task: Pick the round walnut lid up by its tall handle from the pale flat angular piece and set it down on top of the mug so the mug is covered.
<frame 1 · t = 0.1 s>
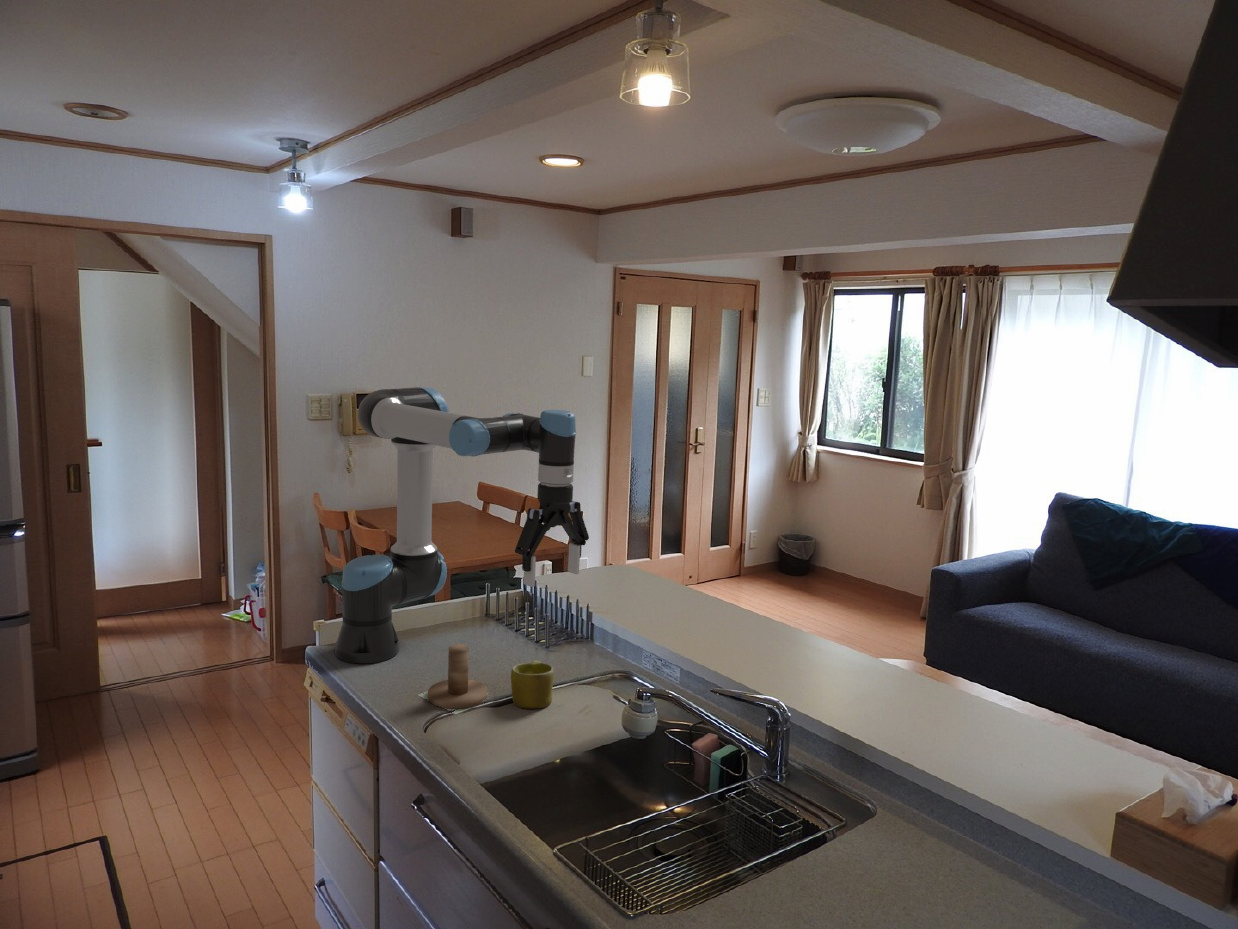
hand: (551, 579, 190), 28 cm above the countertop, fingers open, 13 cm apart
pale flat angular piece: (457, 697, 193), on the countertop
mug: (533, 700, 194), on the countertop
lid: (457, 696, 193), resting on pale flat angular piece
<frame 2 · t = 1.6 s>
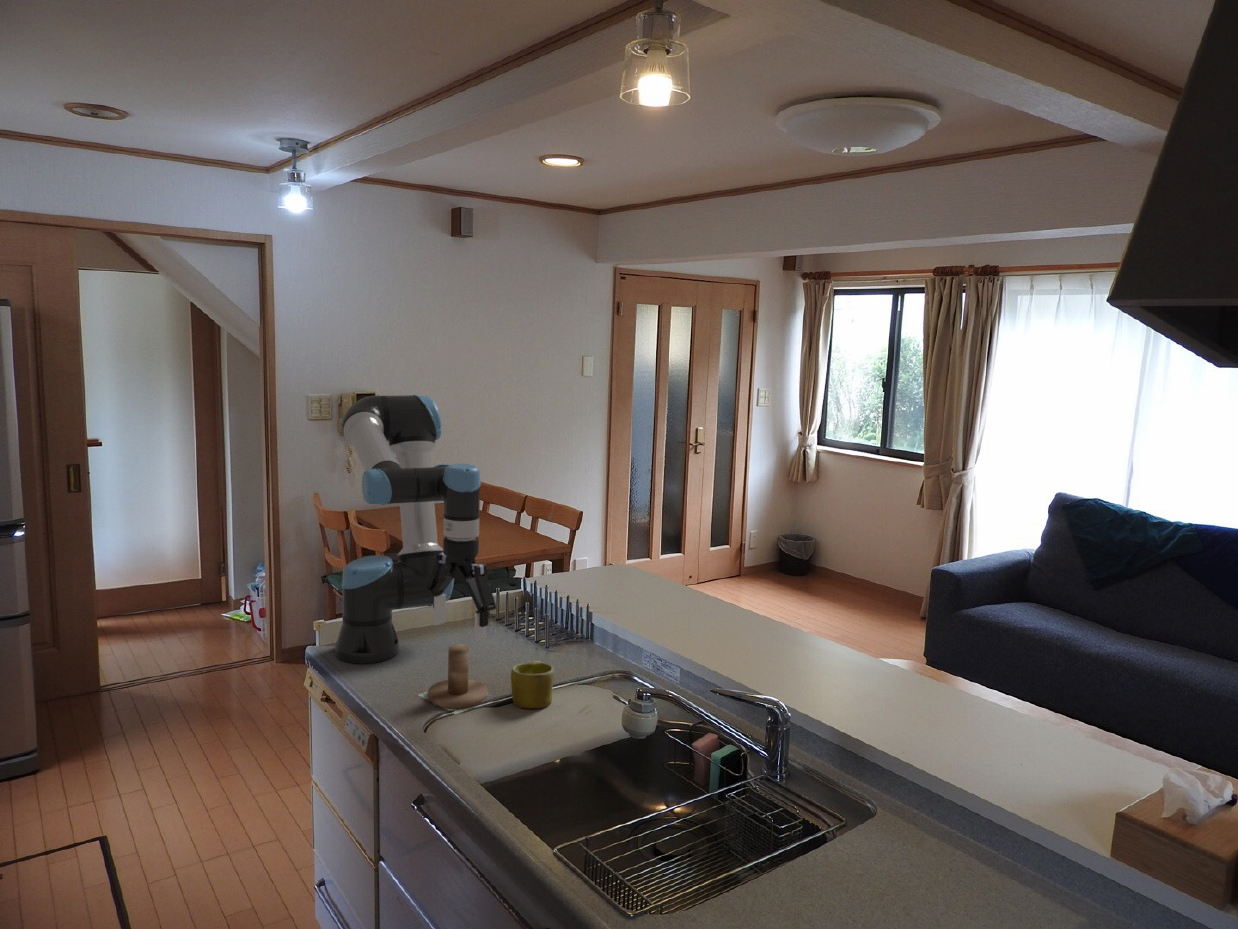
hand: (459, 631, 190), 15 cm above the countertop, fingers open, 13 cm apart
nothing on the countertop moved.
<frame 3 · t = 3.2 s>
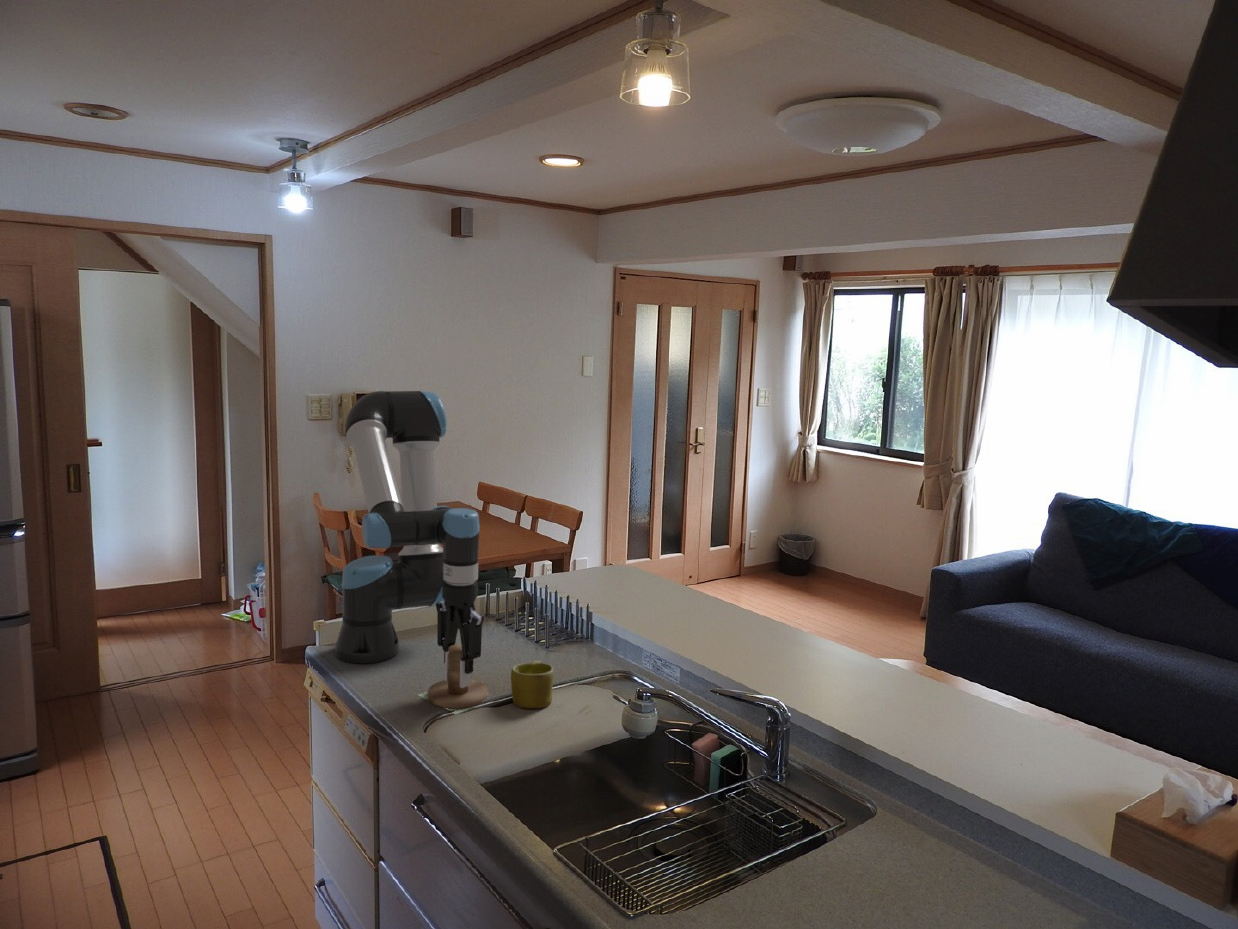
hand: (458, 682, 192), 4 cm above the countertop, fingers closed on lid, 4 cm apart
lid: (457, 696, 193), resting on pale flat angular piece, touching gripper
everything else where it was.
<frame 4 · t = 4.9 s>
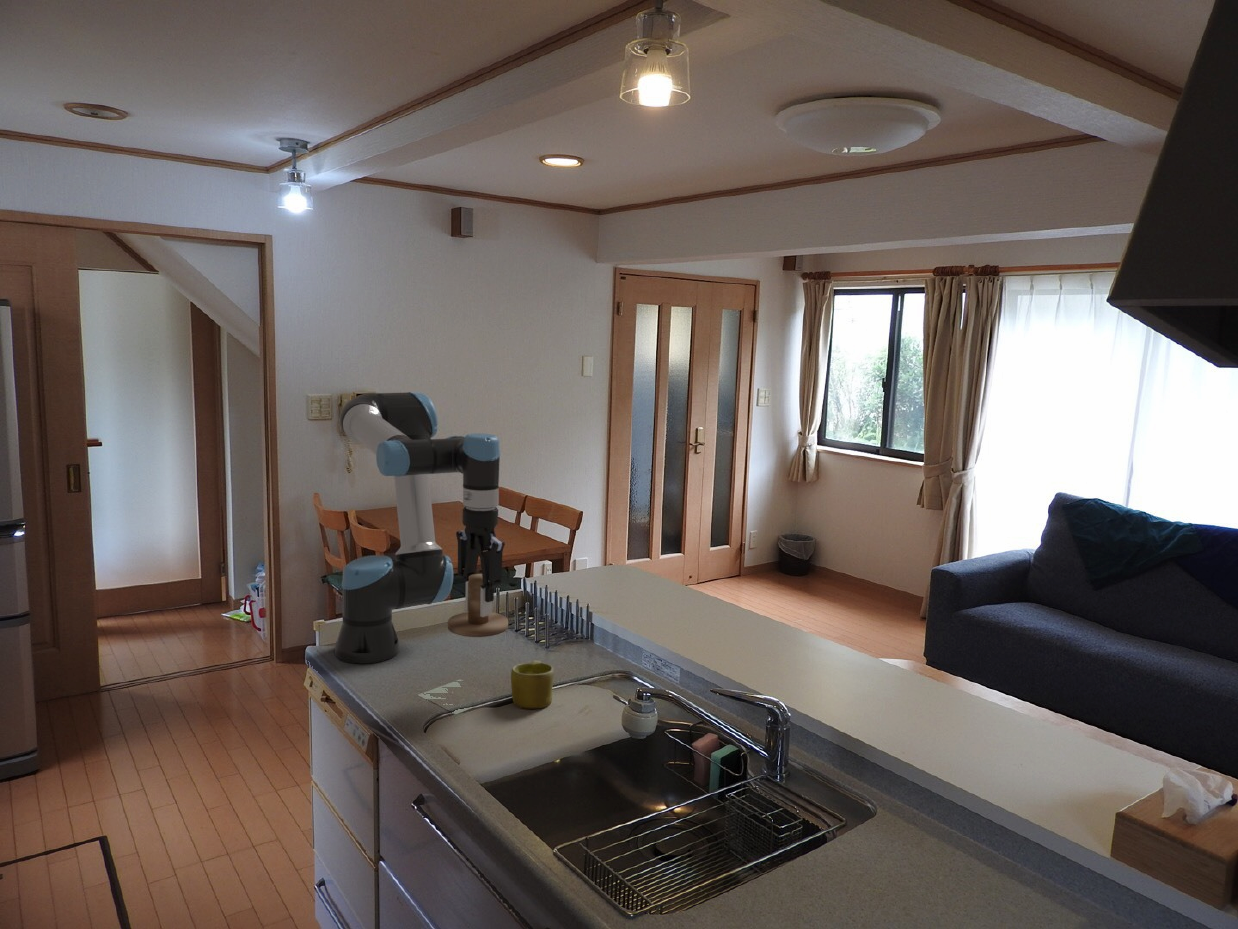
hand: (478, 612, 189), 20 cm above the countertop, fingers closed on lid, 4 cm apart
lid: (478, 626, 190), point 17 cm above the countertop, touching gripper
everything else where it was.
when the fingers open (14 cm above the countertop, at t = 6.8 s): lid drops 3 cm, resting on mug.
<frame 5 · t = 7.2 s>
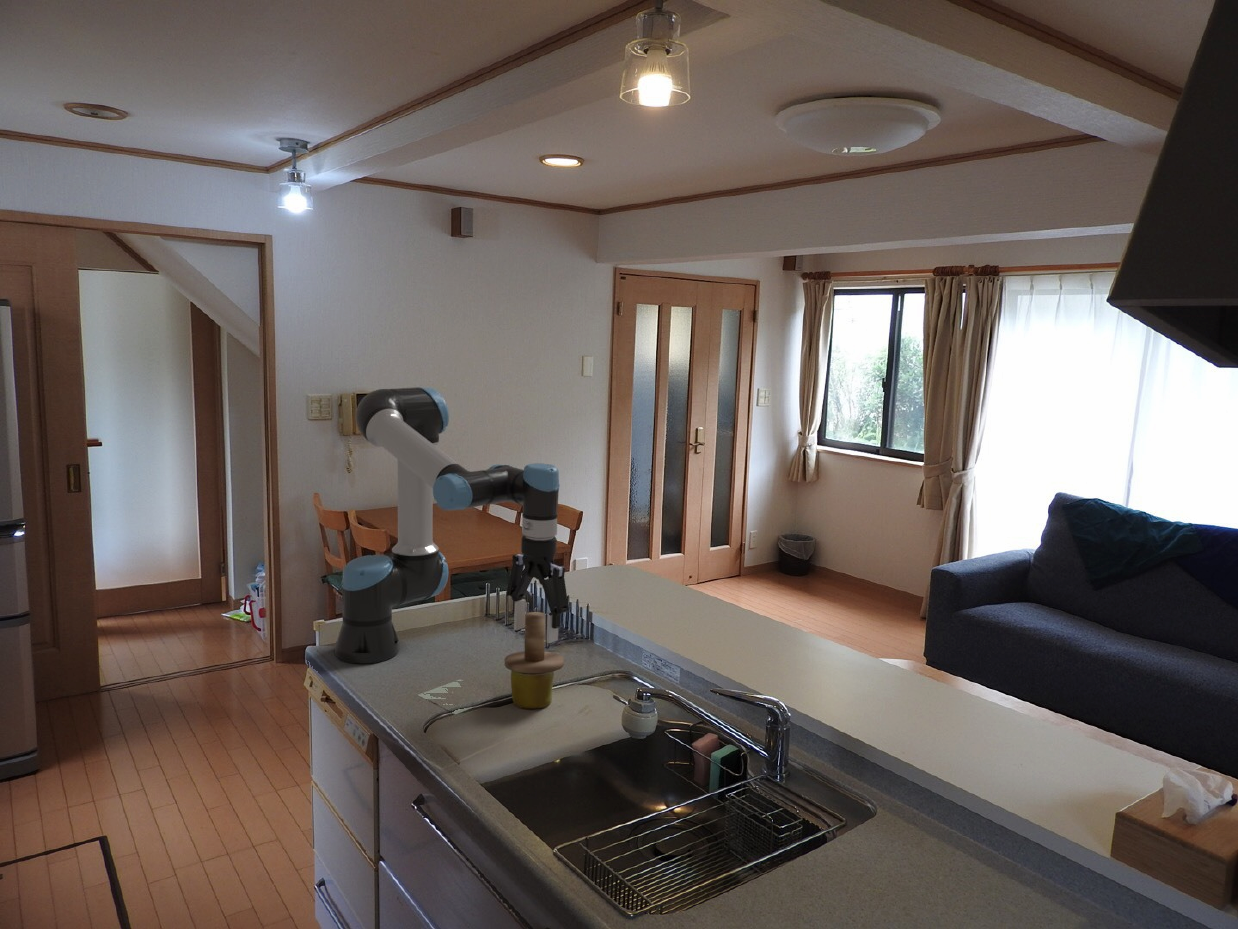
hand: (535, 634, 191), 15 cm above the countertop, fingers open, 9 cm apart
mug: (533, 700, 194), on the countertop, touching lid
lid: (534, 664, 193), point 8 cm above the countertop, tilted 6°, touching mug
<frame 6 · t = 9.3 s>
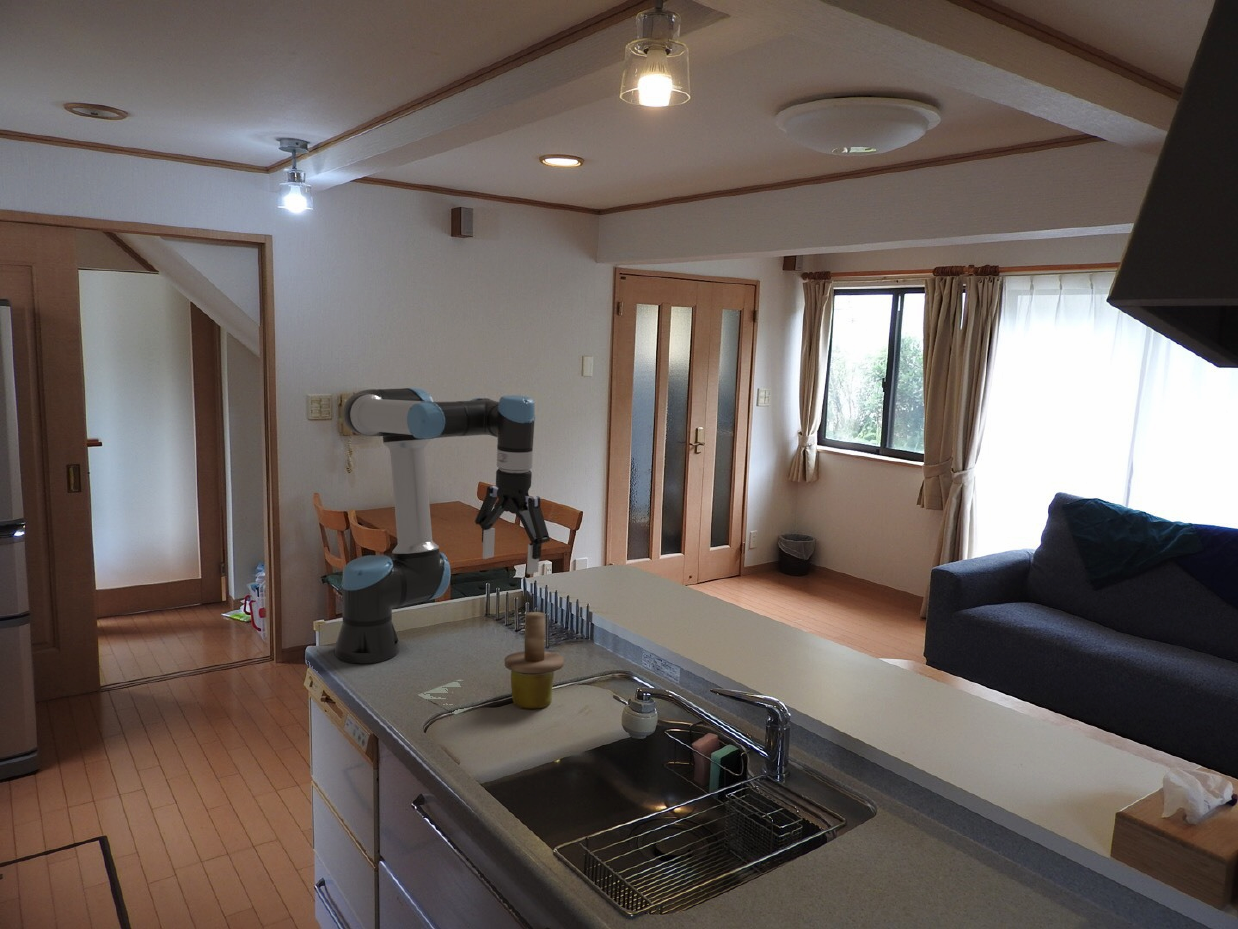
hand: (509, 565, 189), 30 cm above the countertop, fingers open, 13 cm apart
nothing on the countertop moved.
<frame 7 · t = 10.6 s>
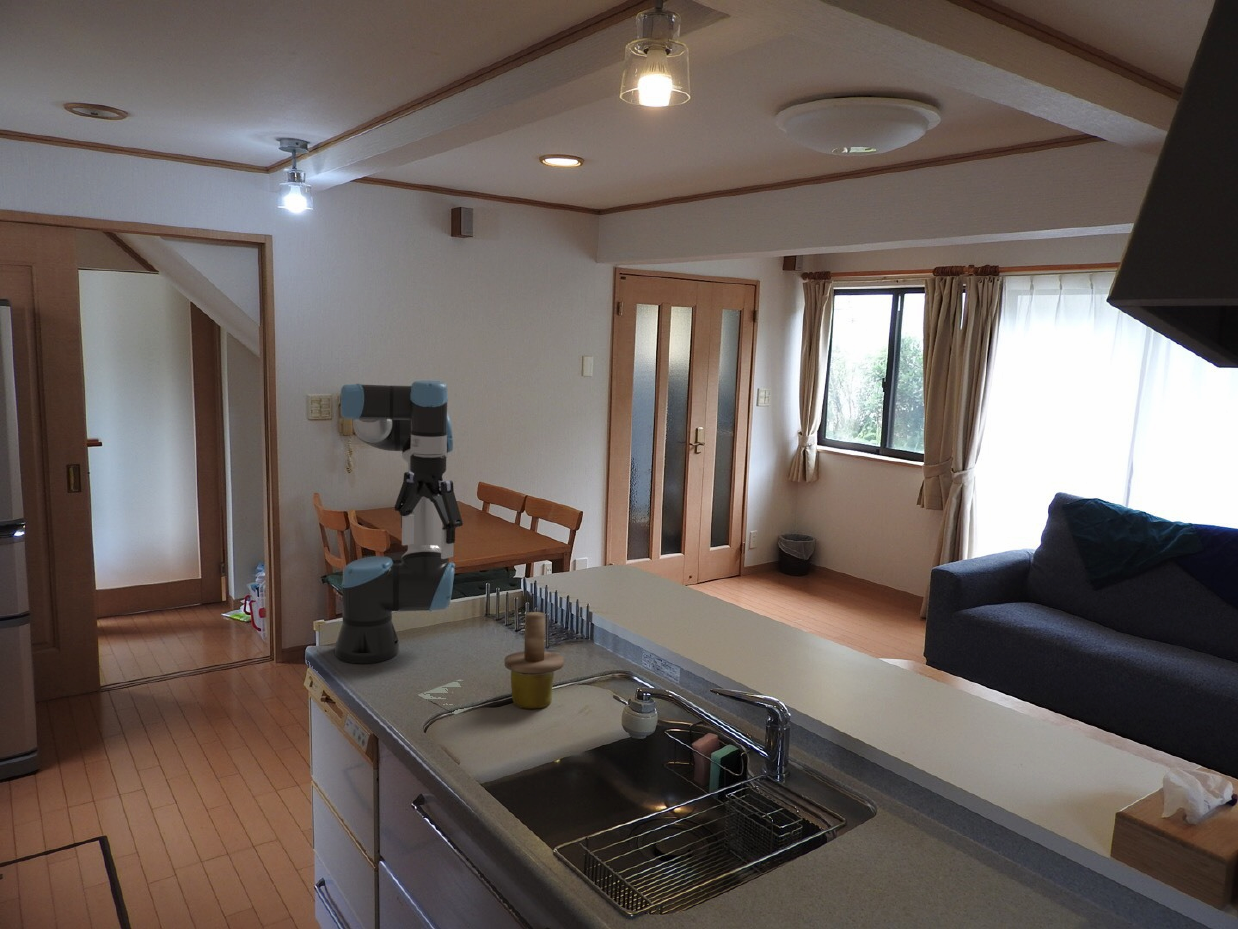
hand: (427, 551, 189), 33 cm above the countertop, fingers open, 13 cm apart
nothing on the countertop moved.
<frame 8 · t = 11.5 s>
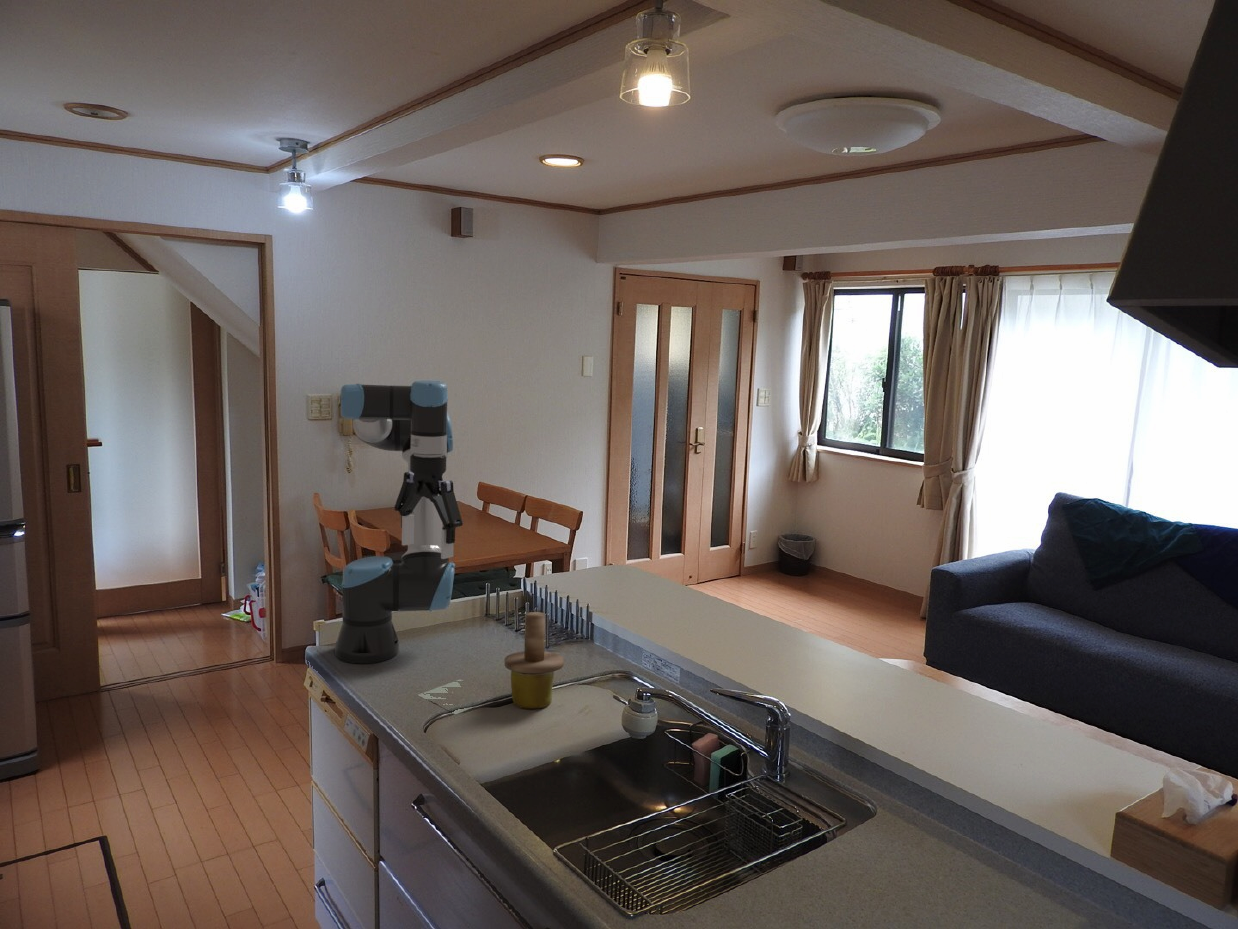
hand: (427, 551, 189), 33 cm above the countertop, fingers open, 13 cm apart
nothing on the countertop moved.
at the end: lid inside the target area (0.3 cm from its centre), point 8.2 cm above the countertop; lid tilted 6°; the gripper is holding nothing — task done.
